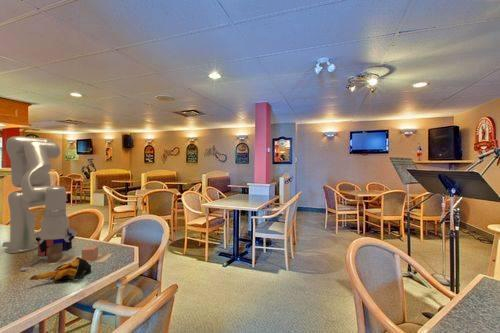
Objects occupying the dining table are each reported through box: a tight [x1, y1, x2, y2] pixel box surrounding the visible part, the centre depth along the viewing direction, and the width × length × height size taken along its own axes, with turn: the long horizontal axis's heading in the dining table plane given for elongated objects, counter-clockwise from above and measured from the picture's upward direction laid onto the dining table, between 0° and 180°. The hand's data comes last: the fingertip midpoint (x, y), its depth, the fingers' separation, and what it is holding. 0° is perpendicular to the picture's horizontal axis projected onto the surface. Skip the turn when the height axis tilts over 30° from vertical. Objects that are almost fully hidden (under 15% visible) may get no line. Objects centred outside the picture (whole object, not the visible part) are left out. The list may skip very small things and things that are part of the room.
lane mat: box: [19, 256, 48, 272], centre depth 115 cm, size 34×14×1 cm, turn 102°
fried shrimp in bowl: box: [29, 257, 92, 284], centre depth 97 cm, size 9×11×18 cm
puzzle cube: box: [37, 233, 73, 257], centre depth 127 cm, size 10×10×10 cm
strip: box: [45, 243, 113, 266], centre depth 116 cm, size 24×10×8 cm, turn 102°
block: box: [81, 245, 99, 261], centre depth 117 cm, size 5×5×5 cm
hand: (55, 250), depth 113 cm, fingers open, 9 cm apart
